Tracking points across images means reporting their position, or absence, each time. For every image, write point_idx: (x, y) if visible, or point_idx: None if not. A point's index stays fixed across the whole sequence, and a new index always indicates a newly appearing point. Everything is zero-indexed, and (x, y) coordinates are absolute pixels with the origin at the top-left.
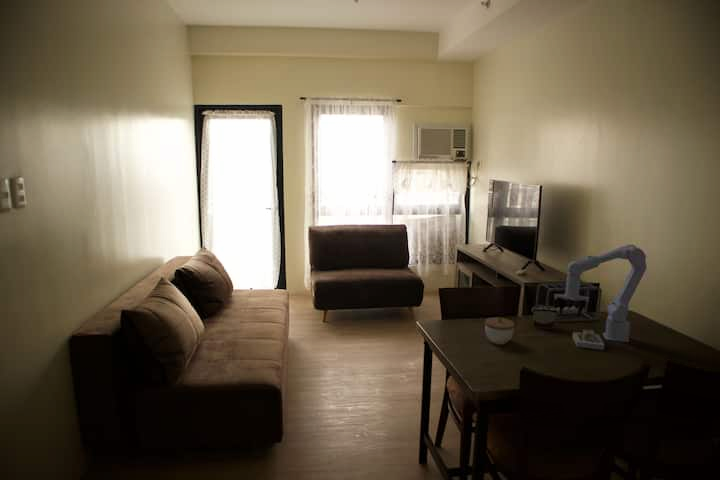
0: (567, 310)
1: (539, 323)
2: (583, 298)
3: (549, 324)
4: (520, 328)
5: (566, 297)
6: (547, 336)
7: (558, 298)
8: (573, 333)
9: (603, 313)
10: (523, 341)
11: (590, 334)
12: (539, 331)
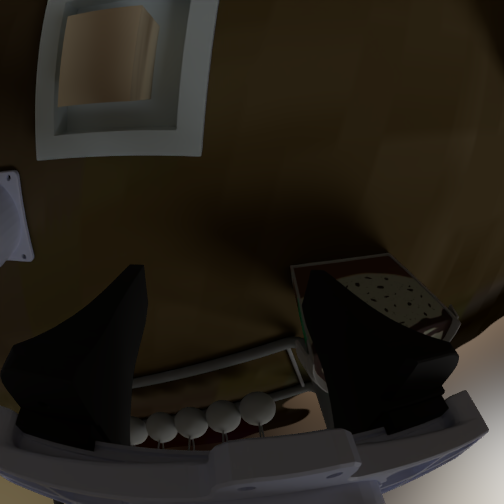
0: (190, 420)
1: (375, 271)
2: (34, 472)
3: None
4: (446, 226)
5: (398, 458)
6: (364, 130)
7: (439, 412)
8: (202, 130)
9: None
10: (477, 64)
11: (99, 10)
12: (382, 203)
